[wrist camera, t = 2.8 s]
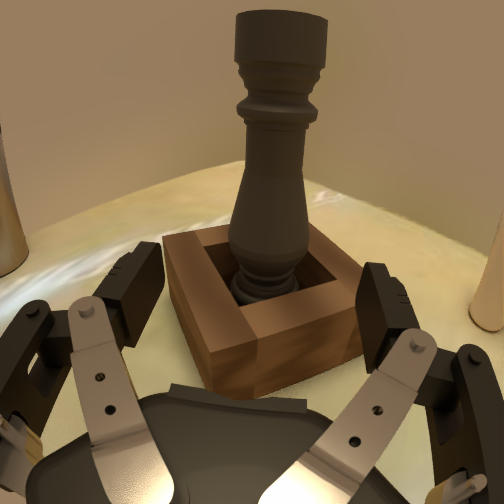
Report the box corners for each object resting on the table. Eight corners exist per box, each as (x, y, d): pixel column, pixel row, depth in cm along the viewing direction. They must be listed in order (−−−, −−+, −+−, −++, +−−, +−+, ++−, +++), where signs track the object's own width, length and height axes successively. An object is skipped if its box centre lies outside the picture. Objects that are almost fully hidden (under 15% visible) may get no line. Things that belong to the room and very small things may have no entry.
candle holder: (245, 296, 33) (255, 24, 19) (303, 313, 31) (339, 28, 17) (216, 336, 28) (212, 12, 14) (282, 359, 26) (321, 10, 12)
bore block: (215, 411, 21) (209, 352, 17) (170, 296, 32) (162, 236, 28) (366, 352, 26) (390, 292, 23) (290, 268, 37) (297, 212, 33)
